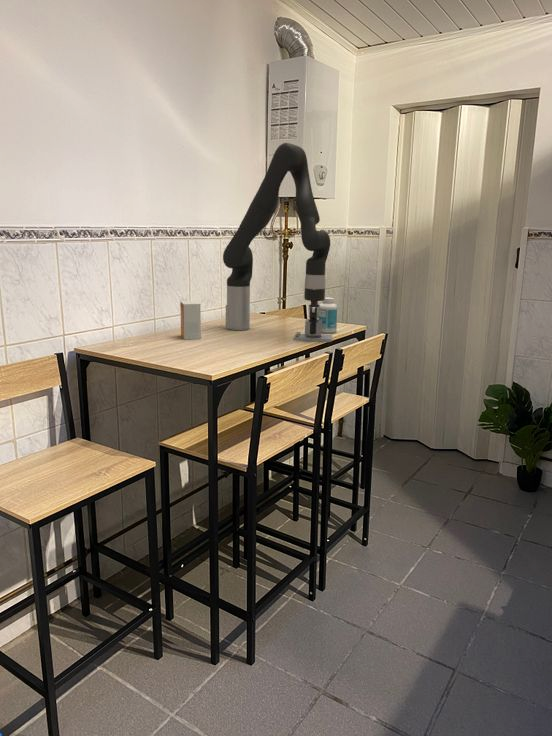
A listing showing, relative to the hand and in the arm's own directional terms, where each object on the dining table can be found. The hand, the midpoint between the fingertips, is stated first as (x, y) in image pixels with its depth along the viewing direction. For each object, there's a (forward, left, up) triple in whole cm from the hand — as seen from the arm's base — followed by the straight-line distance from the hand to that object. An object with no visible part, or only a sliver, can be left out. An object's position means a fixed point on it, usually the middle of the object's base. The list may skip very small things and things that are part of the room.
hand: (313, 332), depth 215 cm
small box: (-45, -6, -3) cm, 45 cm away
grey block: (0, 0, -1) cm, 1 cm away
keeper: (0, 0, -3) cm, 3 cm away
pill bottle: (+5, +16, -3) cm, 17 cm away
